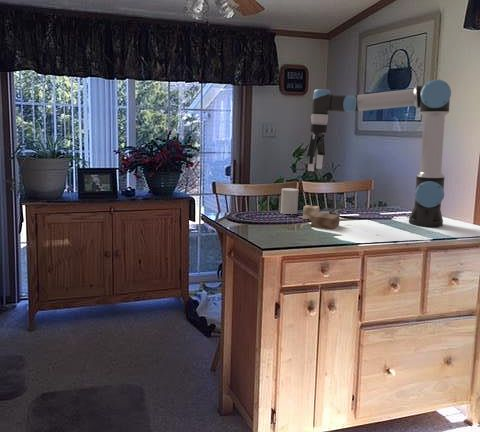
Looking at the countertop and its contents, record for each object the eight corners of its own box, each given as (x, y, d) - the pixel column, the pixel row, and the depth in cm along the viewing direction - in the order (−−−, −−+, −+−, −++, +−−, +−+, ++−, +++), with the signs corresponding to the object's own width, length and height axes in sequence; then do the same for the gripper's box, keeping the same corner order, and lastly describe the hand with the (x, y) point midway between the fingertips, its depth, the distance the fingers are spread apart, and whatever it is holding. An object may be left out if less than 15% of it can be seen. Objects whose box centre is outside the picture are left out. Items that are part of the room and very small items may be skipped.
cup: (277, 212, 266) (279, 188, 263) (293, 211, 268) (294, 188, 266) (284, 215, 258) (285, 190, 256) (299, 215, 260) (301, 190, 258)
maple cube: (318, 218, 253) (319, 206, 252) (315, 221, 248) (315, 208, 247) (306, 217, 256) (306, 205, 254) (302, 219, 250) (303, 206, 249)
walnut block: (338, 226, 240) (339, 215, 239) (333, 230, 231) (334, 218, 230) (317, 223, 244) (317, 212, 243) (310, 227, 235) (311, 216, 234)
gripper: (318, 123, 259) (314, 167, 263) (302, 123, 236) (298, 171, 240) (333, 124, 256) (329, 168, 260) (319, 124, 233) (315, 172, 238)
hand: (314, 169), depth 250 cm, fingers open, 13 cm apart
